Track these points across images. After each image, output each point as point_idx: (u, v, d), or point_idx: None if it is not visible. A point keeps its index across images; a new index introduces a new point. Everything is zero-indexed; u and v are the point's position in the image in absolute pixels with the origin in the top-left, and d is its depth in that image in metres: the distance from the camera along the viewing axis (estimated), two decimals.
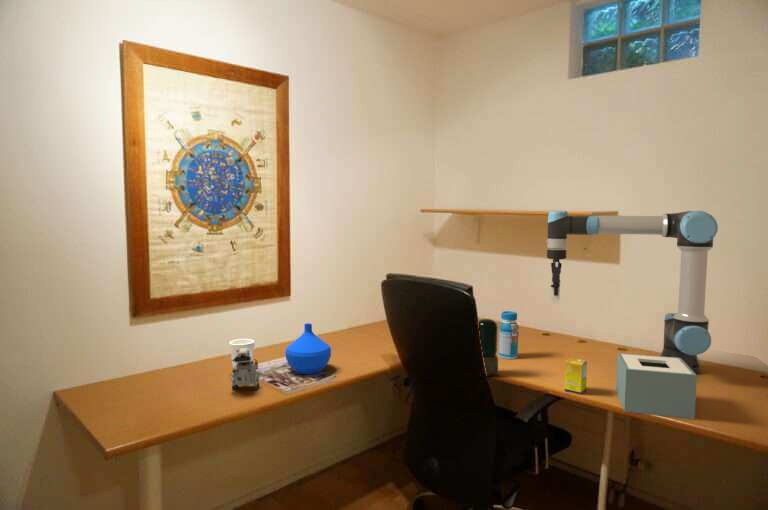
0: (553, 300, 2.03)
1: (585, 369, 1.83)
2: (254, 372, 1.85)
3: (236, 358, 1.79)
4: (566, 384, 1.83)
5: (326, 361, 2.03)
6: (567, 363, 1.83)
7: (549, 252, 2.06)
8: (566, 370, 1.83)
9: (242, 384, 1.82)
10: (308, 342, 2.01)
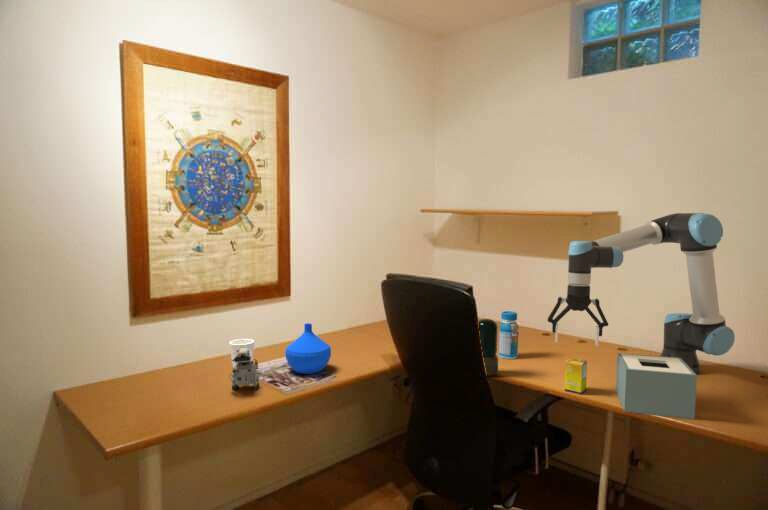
0: (555, 337, 1.86)
1: (585, 369, 1.83)
2: (254, 372, 1.85)
3: (236, 358, 1.79)
4: (566, 384, 1.83)
5: (326, 361, 2.03)
6: (567, 363, 1.83)
7: None
8: (566, 370, 1.83)
9: (242, 384, 1.82)
10: (308, 342, 2.01)
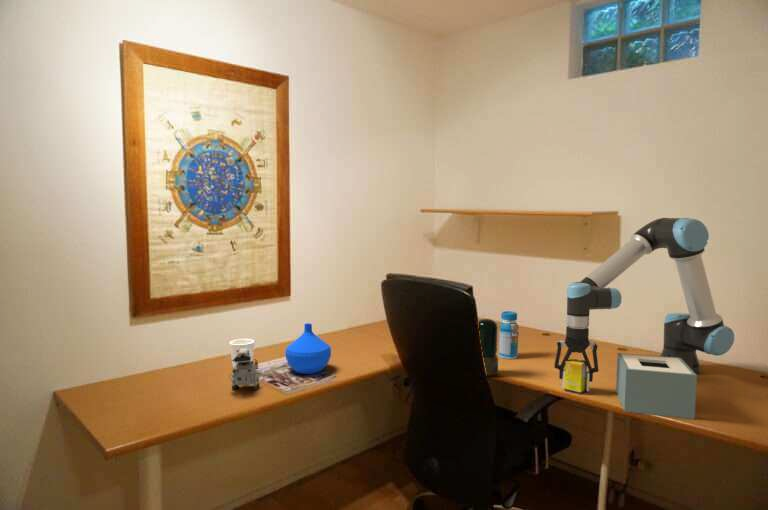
0: (562, 383, 1.86)
1: (585, 369, 1.83)
2: (254, 372, 1.85)
3: (236, 358, 1.79)
4: (566, 384, 1.83)
5: (326, 361, 2.03)
6: (567, 363, 1.83)
7: None
8: (566, 370, 1.83)
9: (242, 384, 1.82)
10: (308, 342, 2.01)
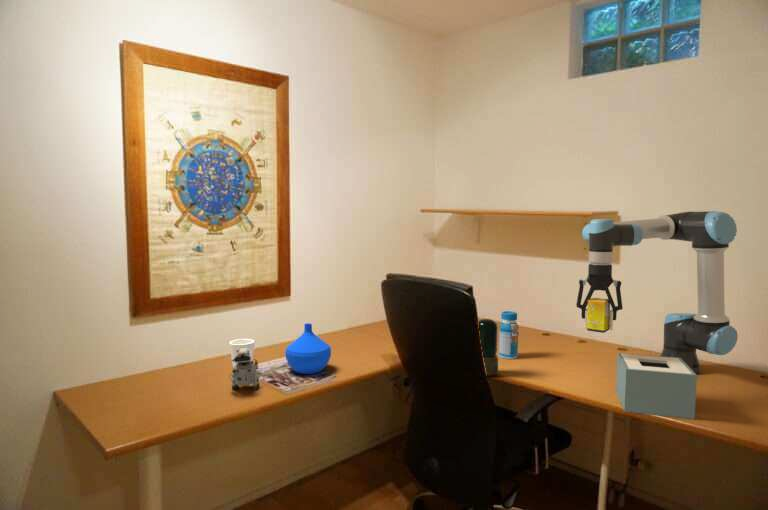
0: None
1: (608, 307, 1.77)
2: (254, 372, 1.85)
3: (236, 358, 1.79)
4: (588, 323, 1.78)
5: (326, 361, 2.03)
6: (589, 301, 1.77)
7: None
8: (588, 309, 1.78)
9: (242, 384, 1.82)
10: (308, 342, 2.01)
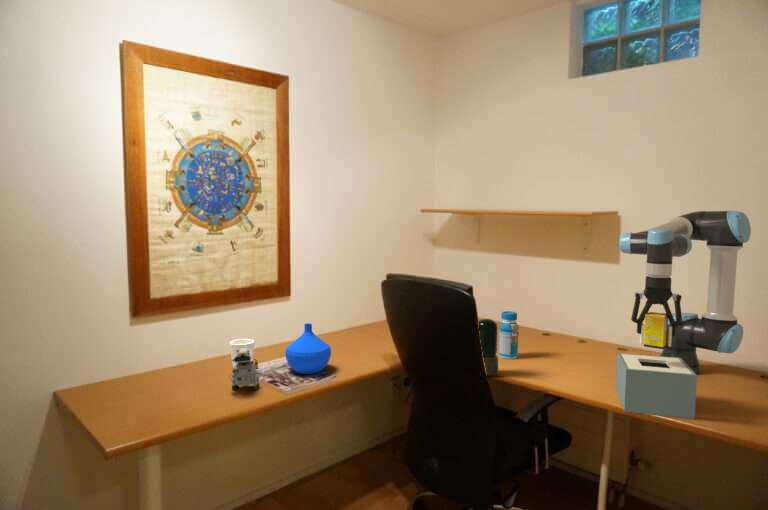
0: (640, 339, 1.72)
1: (666, 322, 1.68)
2: (254, 372, 1.85)
3: (236, 358, 1.79)
4: (645, 339, 1.69)
5: (326, 361, 2.03)
6: (647, 316, 1.68)
7: None
8: (646, 323, 1.68)
9: (242, 384, 1.82)
10: (308, 342, 2.01)
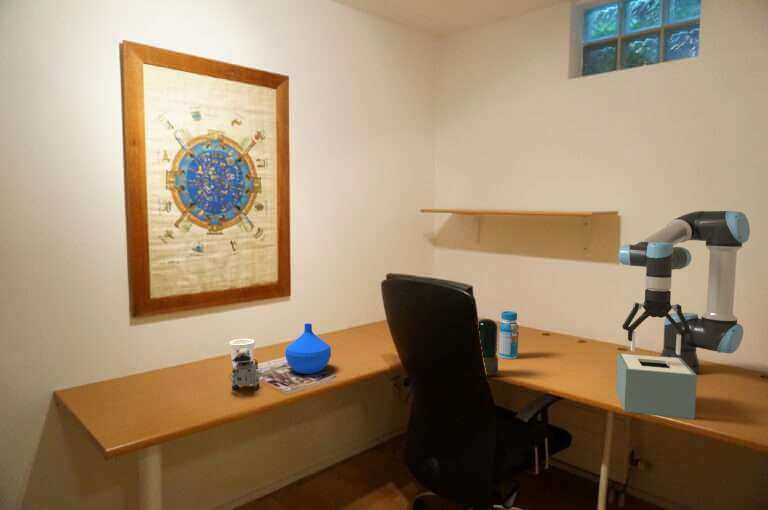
0: (631, 346, 1.73)
1: None
2: (254, 372, 1.85)
3: (236, 358, 1.79)
4: None
5: (326, 361, 2.03)
6: None
7: None
8: None
9: (242, 384, 1.82)
10: (308, 342, 2.01)
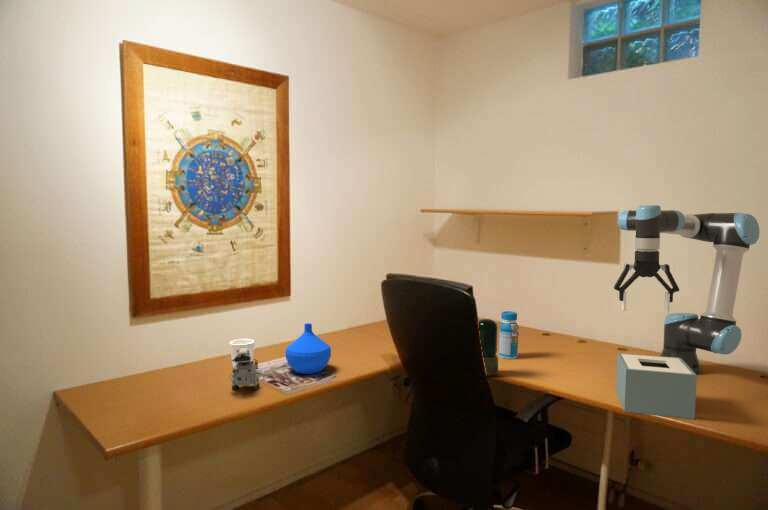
0: (622, 306, 1.80)
1: None
2: (254, 372, 1.85)
3: (236, 358, 1.79)
4: None
5: (326, 361, 2.03)
6: None
7: None
8: None
9: (242, 384, 1.82)
10: (308, 342, 2.01)
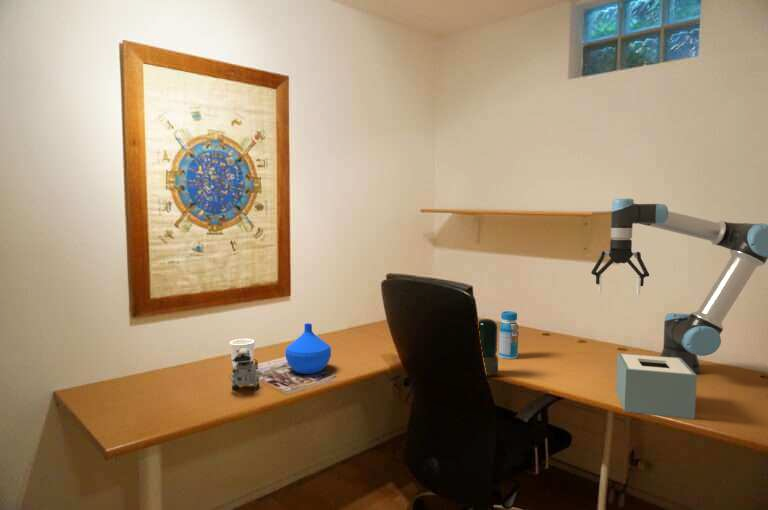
0: None
1: None
2: (254, 372, 1.85)
3: (236, 358, 1.79)
4: None
5: (326, 361, 2.03)
6: None
7: None
8: None
9: (242, 384, 1.82)
10: (308, 342, 2.01)
